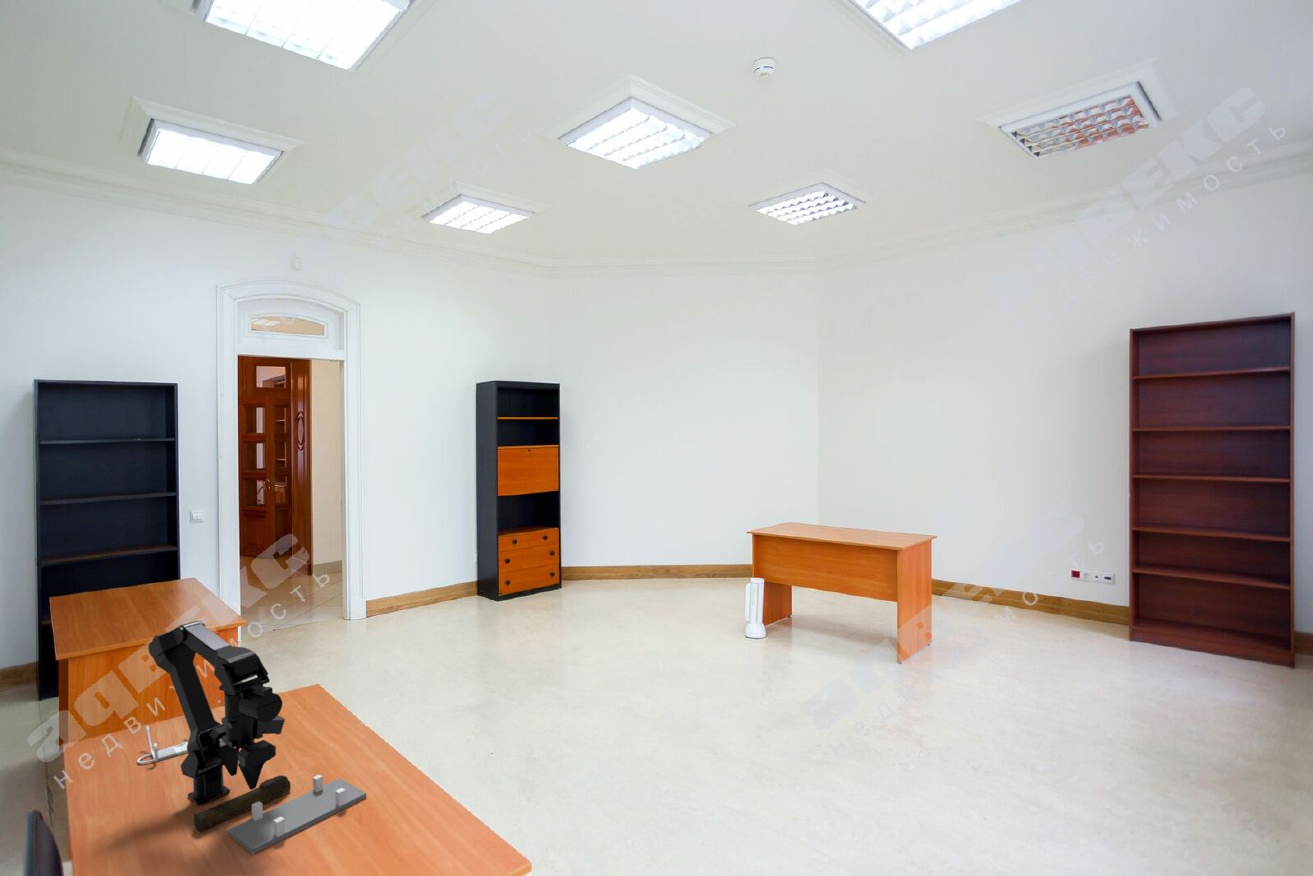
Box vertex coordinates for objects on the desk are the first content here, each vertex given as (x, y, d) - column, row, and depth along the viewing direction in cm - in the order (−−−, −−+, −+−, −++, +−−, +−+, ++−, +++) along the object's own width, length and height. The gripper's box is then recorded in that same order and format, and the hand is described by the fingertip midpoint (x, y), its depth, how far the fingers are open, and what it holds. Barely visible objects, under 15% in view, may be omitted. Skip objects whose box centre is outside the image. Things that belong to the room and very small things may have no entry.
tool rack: (227, 834, 142) (227, 815, 142) (339, 782, 162) (339, 765, 161) (252, 854, 136) (251, 834, 136) (366, 797, 155) (365, 780, 155)
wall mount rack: (140, 771, 168) (138, 747, 168) (132, 751, 178) (130, 729, 178) (214, 748, 179) (213, 726, 179) (203, 731, 189) (202, 710, 188)
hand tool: (199, 836, 142) (198, 814, 142) (192, 829, 145) (191, 807, 144) (295, 796, 156) (294, 776, 156) (287, 790, 159) (287, 770, 159)
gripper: (299, 709, 151) (301, 779, 152) (259, 688, 162) (261, 754, 163) (244, 728, 142) (247, 803, 143) (206, 705, 153) (209, 774, 154)
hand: (243, 781), depth 151 cm, fingers open, 9 cm apart
